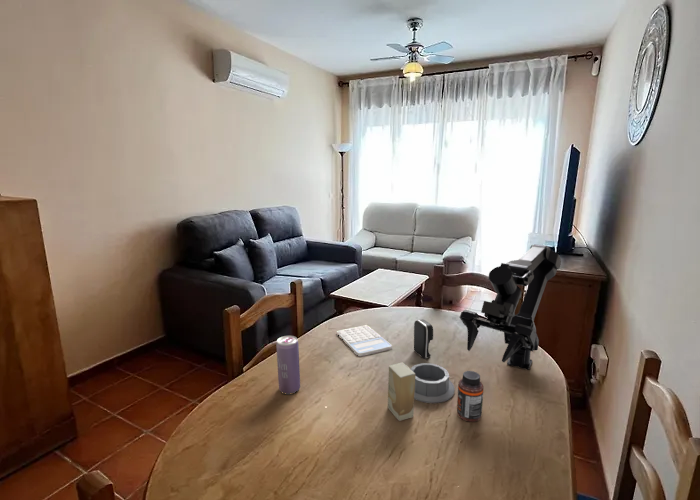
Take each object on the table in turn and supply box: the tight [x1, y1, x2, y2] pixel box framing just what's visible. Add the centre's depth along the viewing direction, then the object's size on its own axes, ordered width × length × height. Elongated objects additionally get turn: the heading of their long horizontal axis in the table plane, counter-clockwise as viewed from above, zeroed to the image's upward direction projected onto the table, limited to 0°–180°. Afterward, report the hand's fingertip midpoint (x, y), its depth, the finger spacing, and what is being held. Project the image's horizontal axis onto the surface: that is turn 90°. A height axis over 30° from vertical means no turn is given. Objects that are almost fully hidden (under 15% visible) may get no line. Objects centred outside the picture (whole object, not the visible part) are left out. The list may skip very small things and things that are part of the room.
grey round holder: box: [410, 362, 456, 404], centre depth 108 cm, size 14×14×5 cm
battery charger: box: [413, 319, 434, 359], centre depth 127 cm, size 7×4×11 cm, turn 21°
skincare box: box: [387, 361, 415, 422], centre depth 97 cm, size 6×4×12 cm
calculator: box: [336, 324, 393, 357], centre depth 138 cm, size 13×20×2 cm, turn 24°
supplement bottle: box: [456, 370, 484, 423], centre depth 96 cm, size 6×6×11 cm
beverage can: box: [275, 335, 301, 395], centre depth 107 cm, size 6×6×15 cm
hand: (485, 355), depth 99 cm, fingers open, 9 cm apart
